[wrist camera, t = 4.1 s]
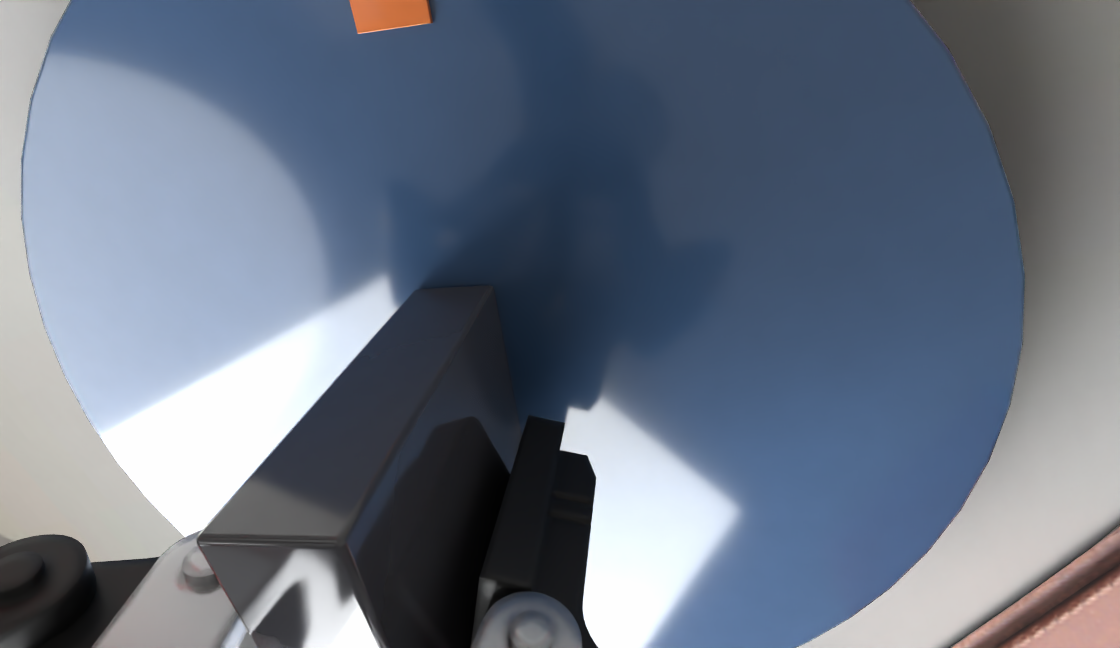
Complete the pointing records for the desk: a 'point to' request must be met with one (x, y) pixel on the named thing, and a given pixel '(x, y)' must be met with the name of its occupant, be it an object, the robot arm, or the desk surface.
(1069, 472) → the desk surface
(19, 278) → the desk surface
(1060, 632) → the desk organizer
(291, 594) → the turntable dial
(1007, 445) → the desk surface
